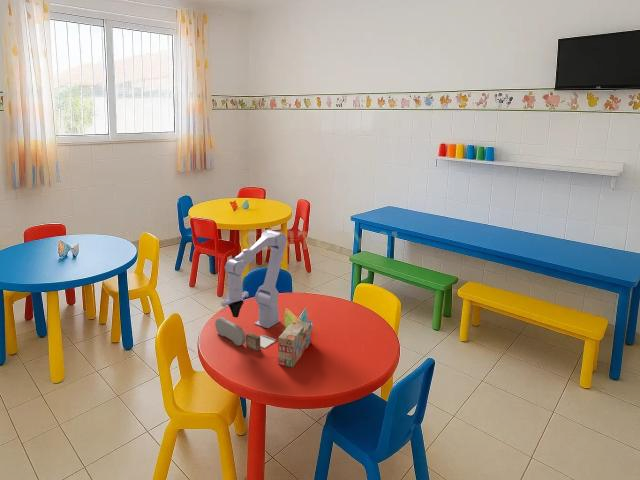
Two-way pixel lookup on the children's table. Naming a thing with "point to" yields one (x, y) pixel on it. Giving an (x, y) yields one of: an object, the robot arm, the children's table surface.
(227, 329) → the game controller
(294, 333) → the stack of blocks
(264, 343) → the mat
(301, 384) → the children's table surface
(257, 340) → the walnut tile
